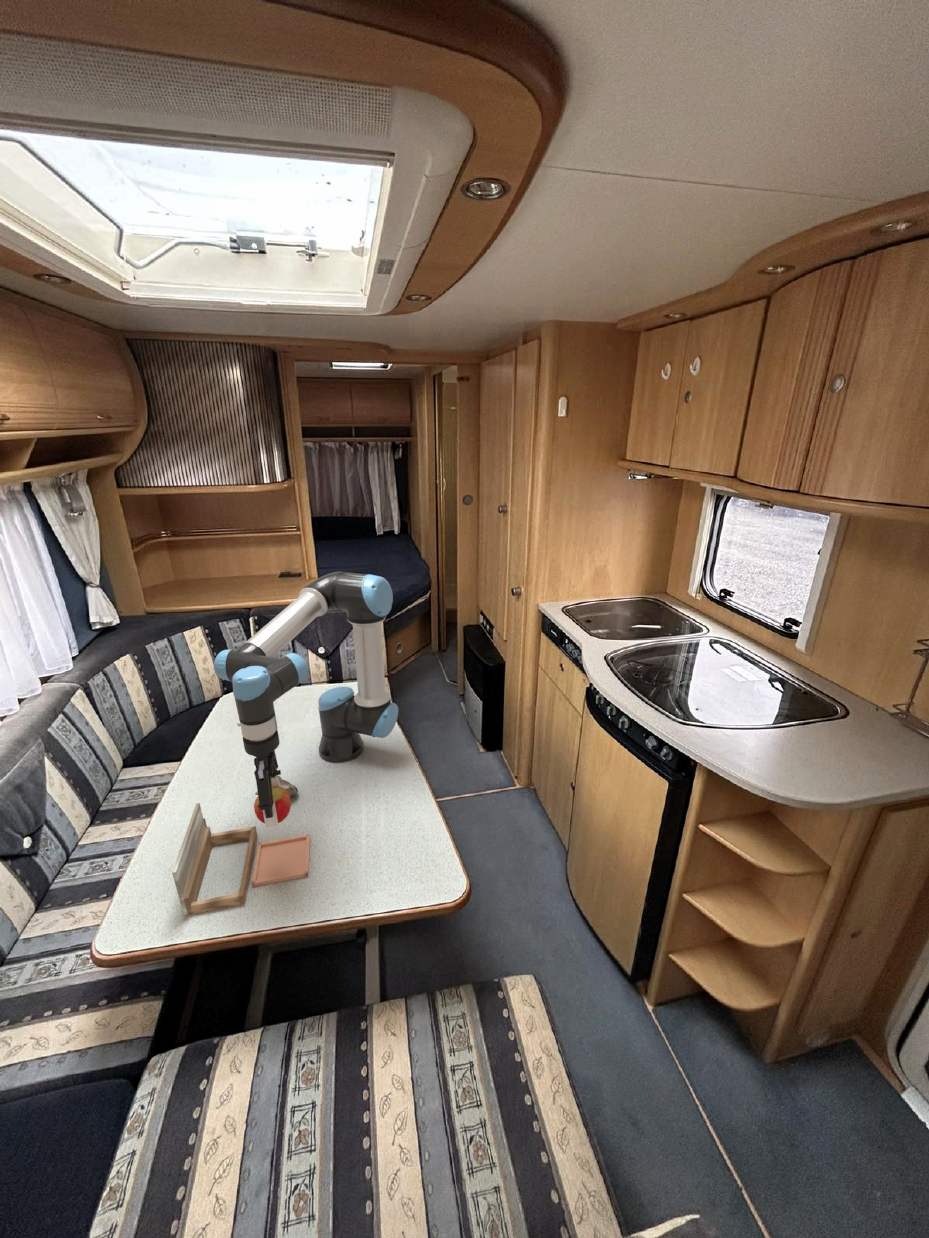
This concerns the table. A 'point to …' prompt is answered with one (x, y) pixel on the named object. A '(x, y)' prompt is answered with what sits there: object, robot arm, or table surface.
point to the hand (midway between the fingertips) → (273, 811)
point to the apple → (276, 804)
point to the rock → (286, 787)
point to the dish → (281, 860)
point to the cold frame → (196, 859)
